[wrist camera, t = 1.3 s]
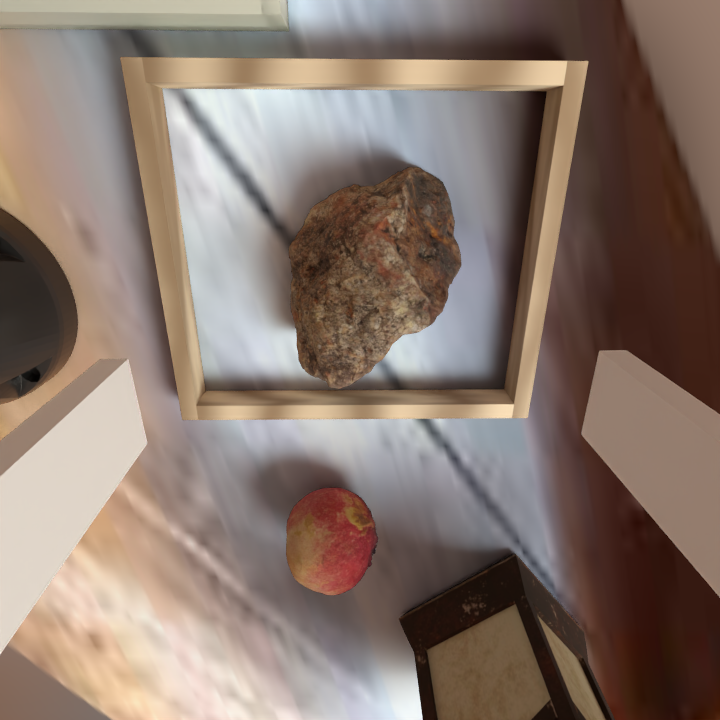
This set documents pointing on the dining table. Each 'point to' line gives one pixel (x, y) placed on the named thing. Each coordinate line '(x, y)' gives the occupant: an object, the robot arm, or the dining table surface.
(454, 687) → the lantern
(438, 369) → the dining table surface
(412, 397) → the pine frame
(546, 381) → the dining table surface
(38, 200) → the dining table surface
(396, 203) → the rock
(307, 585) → the fruit
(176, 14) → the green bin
